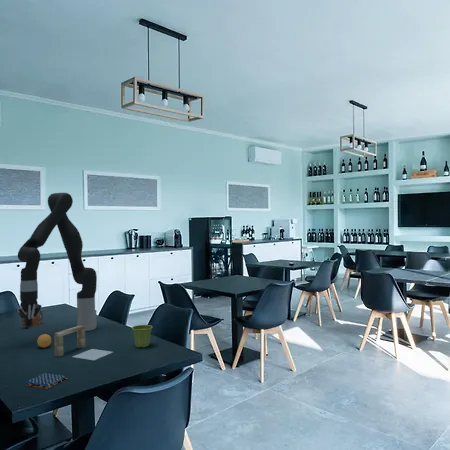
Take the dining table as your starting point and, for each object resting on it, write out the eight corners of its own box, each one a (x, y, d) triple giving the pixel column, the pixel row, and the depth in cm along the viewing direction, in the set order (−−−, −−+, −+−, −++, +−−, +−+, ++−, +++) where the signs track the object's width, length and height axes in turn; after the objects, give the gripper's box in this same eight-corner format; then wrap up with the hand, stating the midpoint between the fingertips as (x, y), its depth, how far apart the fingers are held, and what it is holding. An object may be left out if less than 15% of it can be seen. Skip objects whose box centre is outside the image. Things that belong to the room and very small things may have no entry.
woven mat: (23, 387, 146) (23, 381, 146) (46, 377, 156) (46, 371, 156) (46, 391, 142) (46, 385, 142) (68, 380, 152) (68, 374, 152)
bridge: (54, 355, 179) (54, 333, 179) (80, 346, 193) (80, 325, 193) (59, 356, 178) (59, 333, 178) (85, 347, 192) (85, 325, 192)
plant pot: (145, 341, 199) (145, 323, 199) (156, 345, 192) (156, 326, 192) (128, 346, 192) (127, 327, 192) (139, 350, 186) (139, 330, 186)
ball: (45, 344, 196) (44, 332, 196) (54, 346, 194) (54, 333, 194) (34, 348, 191) (34, 335, 191) (43, 349, 188) (43, 336, 188)
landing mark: (92, 349, 188) (92, 348, 188) (113, 352, 183) (113, 351, 183) (72, 357, 177) (72, 356, 177) (94, 360, 172) (94, 360, 172)
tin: (26, 329, 227) (25, 313, 227) (20, 329, 228) (20, 313, 228) (43, 322, 242) (43, 308, 242) (38, 322, 243) (38, 308, 243)
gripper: (22, 292, 189) (22, 330, 189) (46, 288, 201) (46, 324, 201) (10, 291, 192) (10, 329, 192) (35, 287, 204) (35, 323, 204)
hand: (29, 326), depth 196 cm, fingers closed
